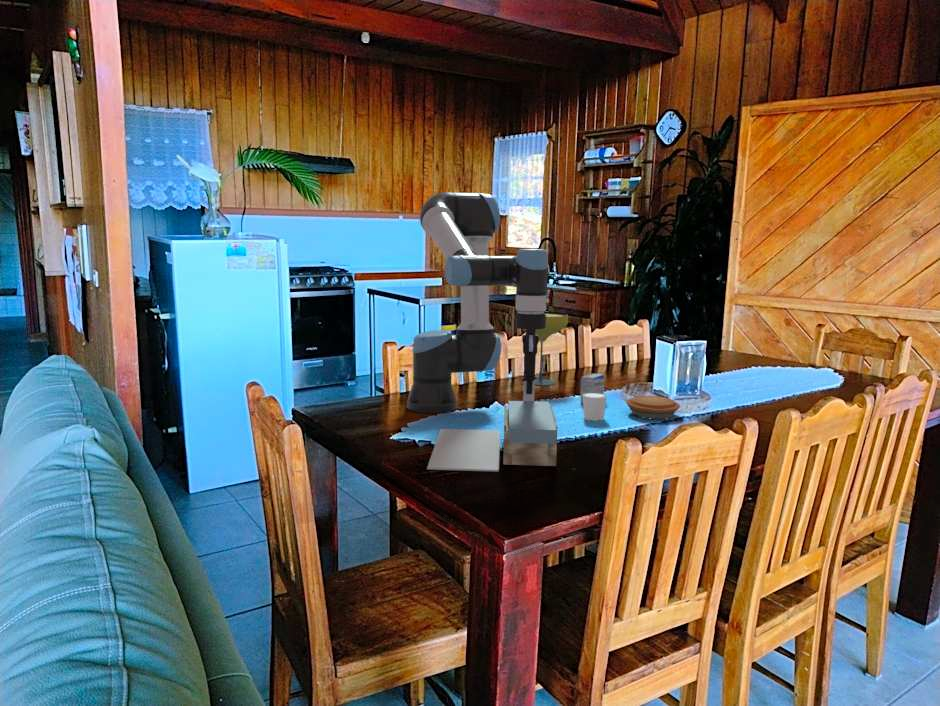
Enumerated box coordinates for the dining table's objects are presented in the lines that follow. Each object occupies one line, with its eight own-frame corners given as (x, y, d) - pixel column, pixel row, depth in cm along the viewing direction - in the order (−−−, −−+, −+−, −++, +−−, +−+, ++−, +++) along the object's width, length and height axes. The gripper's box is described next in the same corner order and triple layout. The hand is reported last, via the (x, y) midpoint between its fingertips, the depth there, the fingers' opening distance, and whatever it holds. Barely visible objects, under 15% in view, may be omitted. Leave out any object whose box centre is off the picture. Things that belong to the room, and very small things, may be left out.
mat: (427, 469, 153) (426, 467, 153) (440, 430, 184) (440, 428, 184) (498, 471, 152) (498, 469, 152) (500, 431, 183) (500, 430, 183)
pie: (619, 409, 211) (619, 393, 210) (668, 408, 212) (669, 393, 211) (634, 422, 196) (635, 405, 195) (687, 421, 197) (688, 404, 196)
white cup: (606, 416, 201) (607, 393, 200) (604, 422, 195) (605, 398, 193) (583, 414, 203) (584, 391, 202) (580, 420, 196) (581, 396, 195)
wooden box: (503, 464, 157) (504, 425, 155) (503, 439, 176) (504, 404, 175) (556, 466, 156) (557, 426, 155) (550, 440, 176) (551, 405, 174)
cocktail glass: (506, 380, 251) (507, 312, 247) (547, 376, 260) (549, 310, 256) (533, 390, 236) (535, 317, 232) (575, 385, 244) (578, 315, 240)
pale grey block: (508, 442, 146) (509, 428, 146) (508, 412, 172) (508, 400, 171) (555, 443, 146) (556, 430, 145) (548, 413, 172) (548, 401, 171)
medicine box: (592, 405, 215) (593, 378, 214) (579, 403, 218) (580, 376, 216) (603, 400, 221) (604, 374, 220) (591, 398, 224) (592, 372, 222)
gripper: (547, 315, 162) (544, 412, 166) (544, 309, 175) (542, 400, 178) (516, 314, 162) (513, 411, 166) (515, 309, 175) (513, 399, 179)
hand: (528, 405), depth 172 cm, fingers closed
